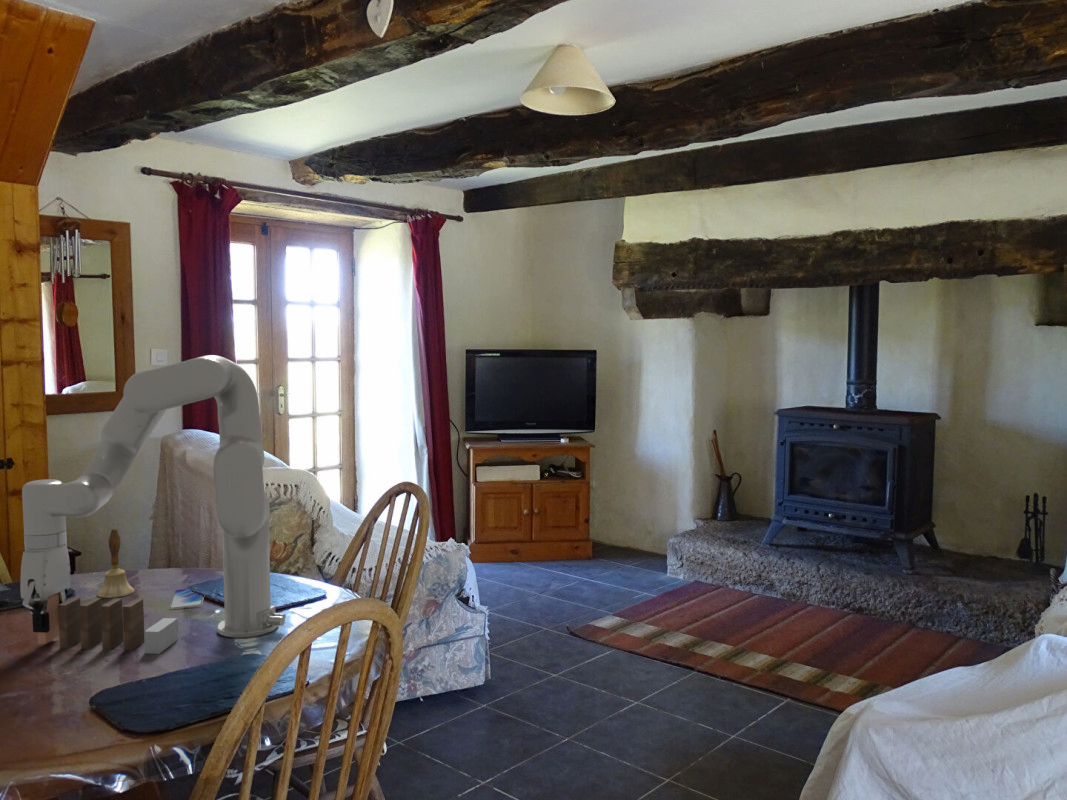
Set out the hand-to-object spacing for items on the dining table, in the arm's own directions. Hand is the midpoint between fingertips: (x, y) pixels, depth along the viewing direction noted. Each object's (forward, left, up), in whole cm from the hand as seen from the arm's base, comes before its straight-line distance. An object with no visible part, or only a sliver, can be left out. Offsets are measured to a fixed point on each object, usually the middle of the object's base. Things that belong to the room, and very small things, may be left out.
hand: (49, 626), depth 176 cm
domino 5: (-18, -4, -4) cm, 18 cm away
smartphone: (-8, -33, -4) cm, 34 cm away
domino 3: (-9, -2, -4) cm, 10 cm away
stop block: (-23, -5, -4) cm, 24 cm away
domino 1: (0, 0, -3) cm, 3 cm away
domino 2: (-4, -1, -4) cm, 6 cm away
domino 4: (-13, -3, -4) cm, 14 cm away
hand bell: (+12, -32, -4) cm, 34 cm away
